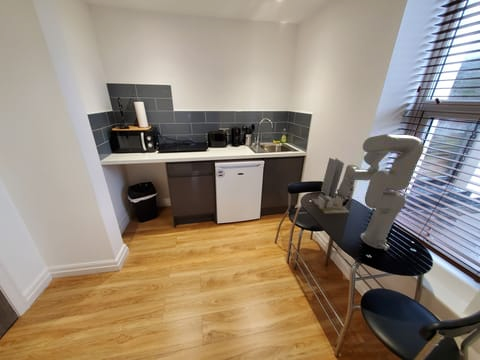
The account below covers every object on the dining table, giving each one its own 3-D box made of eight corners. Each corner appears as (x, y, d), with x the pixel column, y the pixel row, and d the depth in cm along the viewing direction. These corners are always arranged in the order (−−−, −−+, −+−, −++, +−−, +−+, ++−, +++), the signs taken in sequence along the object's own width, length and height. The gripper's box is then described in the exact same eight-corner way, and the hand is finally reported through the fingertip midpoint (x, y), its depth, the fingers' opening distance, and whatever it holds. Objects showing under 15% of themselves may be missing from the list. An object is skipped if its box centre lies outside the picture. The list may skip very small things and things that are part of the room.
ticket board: (349, 212, 135) (349, 211, 134) (325, 213, 132) (325, 212, 131) (333, 199, 152) (333, 198, 151) (311, 200, 149) (311, 198, 148)
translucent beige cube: (346, 206, 140) (348, 199, 138) (339, 206, 139) (341, 199, 137) (341, 202, 146) (343, 195, 143) (334, 202, 145) (336, 195, 142)
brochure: (334, 197, 155) (344, 163, 143) (327, 197, 155) (337, 163, 143) (327, 190, 168) (336, 158, 156) (321, 189, 168) (329, 157, 156)
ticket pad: (333, 208, 137) (336, 199, 134) (322, 208, 135) (324, 200, 133) (326, 201, 146) (328, 193, 143) (315, 201, 144) (317, 193, 141)
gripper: (361, 187, 128) (353, 209, 135) (344, 177, 144) (338, 197, 151) (351, 187, 127) (344, 209, 134) (336, 177, 142) (330, 197, 150)
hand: (341, 203), depth 142 cm, fingers closed on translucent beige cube, 6 cm apart
